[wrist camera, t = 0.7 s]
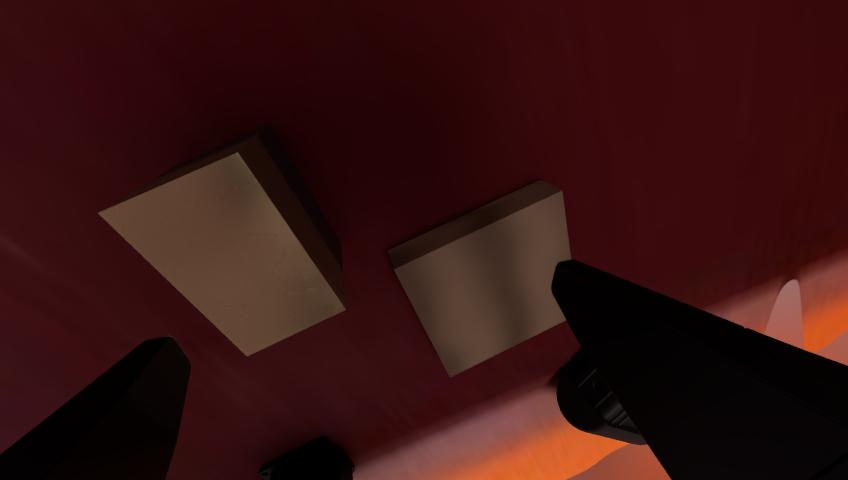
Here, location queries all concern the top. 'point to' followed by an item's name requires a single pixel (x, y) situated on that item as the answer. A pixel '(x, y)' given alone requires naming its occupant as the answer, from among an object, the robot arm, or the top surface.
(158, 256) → the block
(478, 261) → the walnut stand
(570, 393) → the end cap
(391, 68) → the top surface
